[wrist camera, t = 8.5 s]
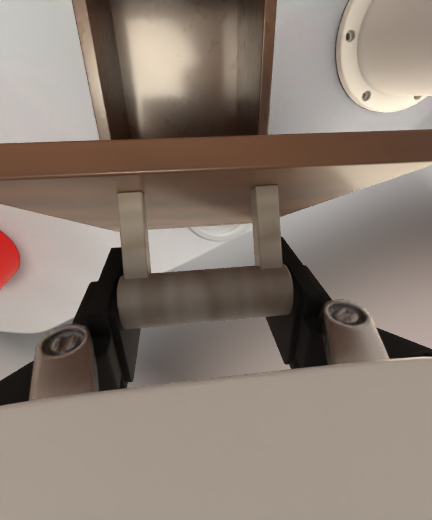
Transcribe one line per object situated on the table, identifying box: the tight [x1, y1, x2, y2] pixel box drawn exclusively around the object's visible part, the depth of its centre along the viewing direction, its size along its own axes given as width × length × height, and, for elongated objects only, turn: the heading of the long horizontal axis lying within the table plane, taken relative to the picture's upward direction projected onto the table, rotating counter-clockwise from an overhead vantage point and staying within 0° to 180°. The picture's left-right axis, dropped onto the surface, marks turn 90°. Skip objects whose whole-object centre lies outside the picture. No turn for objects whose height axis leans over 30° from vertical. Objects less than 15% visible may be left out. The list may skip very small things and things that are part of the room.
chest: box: [72, 0, 277, 140], centre depth 24 cm, size 17×12×10 cm
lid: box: [0, 129, 432, 330], centre depth 15 cm, size 17×12×5 cm
